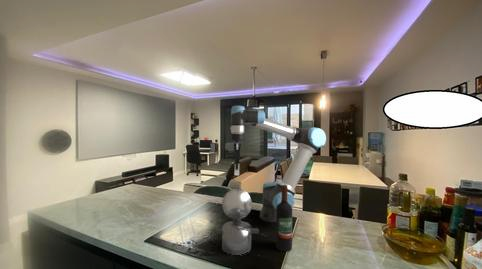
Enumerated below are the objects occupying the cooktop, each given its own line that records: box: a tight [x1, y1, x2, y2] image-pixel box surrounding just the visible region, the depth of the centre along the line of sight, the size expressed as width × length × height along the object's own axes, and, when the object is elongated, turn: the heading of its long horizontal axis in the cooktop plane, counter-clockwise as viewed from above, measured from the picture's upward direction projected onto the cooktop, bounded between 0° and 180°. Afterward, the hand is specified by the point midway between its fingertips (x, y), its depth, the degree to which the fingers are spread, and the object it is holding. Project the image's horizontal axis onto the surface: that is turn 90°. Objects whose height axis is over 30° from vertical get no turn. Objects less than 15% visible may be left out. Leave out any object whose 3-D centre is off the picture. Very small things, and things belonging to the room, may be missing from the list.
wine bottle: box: [275, 185, 293, 253], centre depth 102 cm, size 8×8×30 cm
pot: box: [214, 220, 260, 256], centre depth 101 cm, size 14×21×10 cm, turn 91°
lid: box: [221, 188, 253, 221], centre depth 112 cm, size 16×16×2 cm
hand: (236, 175), depth 119 cm, fingers closed
